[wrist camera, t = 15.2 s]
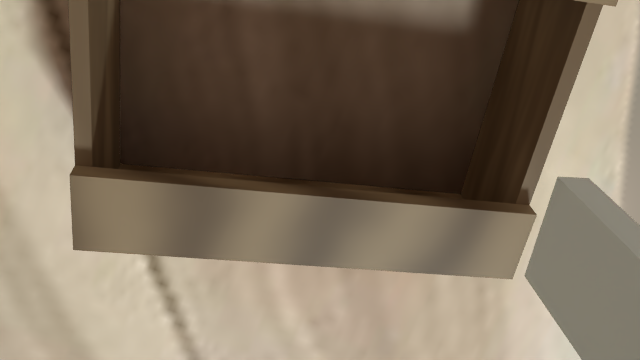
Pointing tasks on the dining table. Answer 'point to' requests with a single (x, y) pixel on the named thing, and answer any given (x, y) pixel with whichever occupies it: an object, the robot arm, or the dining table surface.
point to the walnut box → (326, 197)
